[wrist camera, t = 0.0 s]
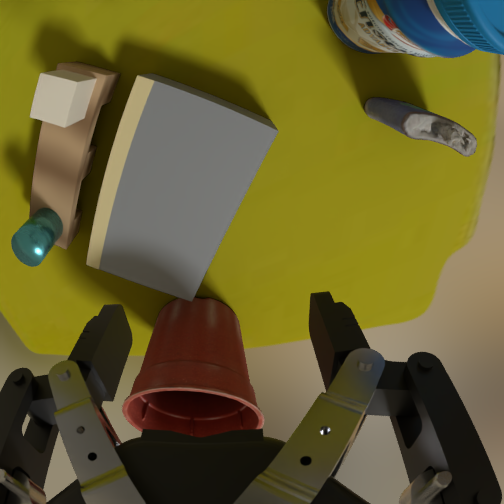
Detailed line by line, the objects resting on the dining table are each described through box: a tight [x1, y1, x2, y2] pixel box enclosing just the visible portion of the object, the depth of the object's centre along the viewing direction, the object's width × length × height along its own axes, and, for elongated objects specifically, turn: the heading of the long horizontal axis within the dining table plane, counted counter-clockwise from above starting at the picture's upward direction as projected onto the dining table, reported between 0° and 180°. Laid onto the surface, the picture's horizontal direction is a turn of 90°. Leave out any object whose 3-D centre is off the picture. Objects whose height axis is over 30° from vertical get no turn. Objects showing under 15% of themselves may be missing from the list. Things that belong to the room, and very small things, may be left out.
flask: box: [364, 97, 477, 156], centre depth 25 cm, size 9×3×11 cm, turn 83°
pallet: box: [29, 62, 121, 249], centre depth 28 cm, size 20×6×4 cm, turn 154°
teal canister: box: [11, 208, 63, 266], centre depth 27 cm, size 4×4×5 cm
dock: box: [86, 73, 278, 302], centre depth 30 cm, size 21×13×5 cm, turn 154°
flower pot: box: [122, 297, 264, 437], centre depth 38 cm, size 16×16×16 cm
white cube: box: [30, 70, 97, 128], centre depth 21 cm, size 4×4×4 cm
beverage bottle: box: [327, 0, 504, 58], centre depth 15 cm, size 8×8×20 cm
